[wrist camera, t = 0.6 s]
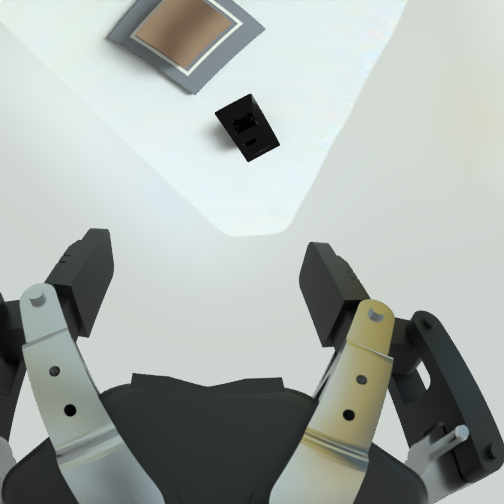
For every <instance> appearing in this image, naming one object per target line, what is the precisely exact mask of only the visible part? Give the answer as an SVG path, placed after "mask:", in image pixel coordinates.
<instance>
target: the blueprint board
mask: <svg viewBox="0 0 504 504" xmlns="http://www.w3.org/2000/svg"><path fill="white" fill-rule="evenodd" d="M166 1H167V0H139V1H138V2H137V3H136V4H135V5H134V6H133V7H132V8H131V10H130V11H129V12H128V13H127V14H126V15H125V17H124V18H123V19H122V20H121V21H120V23H119V24H118V25H117V26H116V27H115V29H114V30H113V31H112V33H111V34H110V35H109V38H110V39H112V40H114V41H115V42H117V43H119V44H120V45H122V46H124V47H125V48H127V49H128V50H130V51H132V52H133V53H135V54H136V55H138V56H139V57H141V58H142V59H144V60H146V61H147V62H149V63H150V64H152V65H153V66H155V67H156V68H157V69H159V70H160V71H162V72H163V73H165V74H166V75H168V76H169V77H170V78H172V79H173V80H175V81H176V82H178V83H179V84H180V85H182V86H183V87H184V88H186V89H187V90H189V91H190V92H191V93H193V94H194V95H196V94H197V93H198V92H199V91H200V90H201V89H202V88H203V87H204V85H205V84H206V83H207V82H208V81H209V80H210V79H211V78H212V77H213V76H214V75H215V74H216V73H217V72H218V71H219V70H220V69H222V68H223V67H224V66H225V65H226V64H227V63H228V62H229V61H230V60H231V59H232V58H233V57H234V56H235V55H236V54H238V53H239V52H240V51H241V50H242V49H243V48H244V47H245V46H247V45H248V44H249V43H250V42H251V41H252V40H254V39H255V38H256V37H257V36H258V35H259V34H261V33H262V32H263V31H264V30H266V29H265V28H264V27H263V26H262V25H261V24H260V23H259V22H258V21H256V20H255V19H254V18H253V17H252V16H251V15H249V14H248V13H247V12H246V11H245V10H243V9H242V8H241V7H240V6H239V5H237V4H236V3H235V2H234V1H232V0H203V1H204V2H206V3H207V4H208V5H210V6H211V7H212V8H214V9H215V10H216V11H218V12H219V13H220V14H222V15H223V16H224V17H225V18H227V19H228V20H229V21H230V22H232V24H231V25H230V26H228V27H227V28H226V29H225V30H224V31H223V32H222V33H221V34H219V35H218V36H217V37H216V38H215V39H214V40H213V41H212V42H211V43H210V44H209V45H208V46H207V47H206V48H205V49H204V50H203V51H202V52H201V53H200V54H199V55H198V56H197V57H196V58H195V59H194V60H193V61H192V62H191V63H190V64H189V65H188V66H187V67H186V68H183V67H182V66H180V65H179V64H178V63H176V62H175V61H173V60H172V59H171V58H169V57H168V56H166V55H165V54H163V53H162V52H160V51H159V50H157V49H156V48H154V47H153V46H151V45H150V44H148V43H147V42H145V41H144V40H142V39H141V38H139V37H137V36H136V35H135V34H136V33H137V32H138V31H139V29H140V28H141V27H142V26H143V25H144V24H145V23H146V21H147V20H148V19H149V18H150V17H151V16H152V15H153V14H154V13H155V12H156V11H157V10H158V9H159V8H160V7H161V6H162V5H163V4H164V3H165V2H166Z"/></svg>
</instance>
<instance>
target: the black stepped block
mask: <svg viewBox="0 0 504 504" xmlns="http://www.w3.org/2000/svg"><path fill="white" fill-rule="evenodd" d="M215 115H216V116H217V118H218V119H219V121H220V122H221V123H222V125H223V126H224V128H225V129H226V131H227V132H228V134H229V135H230V136H231V138H232V139H233V141H234V142H235V144H236V145H237V147H238V148H239V150H240V151H241V153H242V154H243V156H244V157H245V159H246V160H247V162H250V161H252V160H254V159H255V158H257V157H259V156H261V155H263V154H265V153H266V152H268V151H270V150H272V149H274V148H276V147H278V146H280V143H279V142H278V140H277V138H276V136H275V134H274V132H273V131H272V129H271V127H270V125H269V123H268V122H267V120H266V118H265V116H264V114H263V113H262V111H261V109H260V108H259V106H258V104H257V102H256V101H255V99H254V97H253V96H252V94H248V95H246V96H244V97H243V98H241V99H239V100H237V101H235V102H233V103H231V104H229V105H227V106H226V107H224V108H222V109H220V110H218V111H217V112H215Z"/></svg>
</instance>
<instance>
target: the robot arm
mask: <svg viewBox="0 0 504 504" xmlns="http://www.w3.org/2000/svg"><path fill="white" fill-rule="evenodd" d="M113 272H114V262H113V255H112V247H111V240H110V233H109V230H108V229H95V228H91V229H89V230H88V232H87V233H86V234H85V236H84V237H83V238H82V240H78V241H76V242H75V243H73V244H72V245H71V246H69V247H68V249H67V250H66V251H65V253H64V254H63V256H62V257H61V258H60V260H59V263H57V264H56V266H55V267H54V269H53V270H52V272H51V273H50V275H49V276H48V278H47V279H46V281H45V282H44V283H40V284H36V285H33V286H31V287H29V288H28V289H27V290H26V291H25V292H24V293H23V294H22V296H21V298H20V300H15V301H8V302H5V301H4V299H3V297H2V294H1V293H0V504H434V503H436V502H437V501H439V500H441V499H443V498H445V497H446V496H448V495H449V494H452V493H454V492H456V491H459V490H461V489H463V488H465V487H467V486H469V485H471V484H473V483H475V482H477V481H479V480H481V479H483V478H485V477H487V476H488V475H490V474H492V473H493V472H495V471H497V470H498V469H499V468H500V467H501V466H502V465H503V463H504V443H503V440H502V438H501V436H500V433H499V430H498V428H497V425H496V423H495V421H494V419H493V416H492V414H491V412H490V410H489V408H488V406H487V403H486V401H485V399H484V397H483V395H482V393H481V391H480V389H479V387H478V385H477V384H476V382H475V380H474V378H473V376H472V374H471V372H470V370H469V369H468V367H467V365H466V363H465V362H464V360H463V358H462V356H461V355H460V353H459V351H458V349H457V348H456V346H455V344H454V343H453V341H452V340H451V338H450V336H449V335H448V333H447V332H446V330H445V329H444V327H443V325H442V324H441V322H440V321H439V320H438V319H437V318H436V317H435V316H434V315H433V314H431V313H429V312H426V311H417V312H415V313H414V315H413V316H412V318H411V320H405V319H400V318H395V317H394V314H393V312H392V310H391V309H390V308H389V307H388V306H387V305H385V304H384V303H382V302H380V301H377V300H373V299H370V297H369V295H368V294H367V292H366V290H365V289H364V287H363V286H362V284H361V283H360V281H359V280H358V279H357V276H356V275H355V273H353V270H352V269H351V267H350V266H349V264H348V263H347V262H346V261H345V260H344V259H342V258H341V257H340V256H337V255H336V254H335V252H334V251H333V249H332V248H331V246H330V245H329V244H328V243H319V242H310V243H309V245H308V247H307V250H306V254H305V257H304V261H303V264H302V268H301V271H300V276H299V285H300V289H301V291H302V294H303V297H304V299H305V302H306V304H307V307H308V309H309V312H310V315H311V318H312V320H313V323H314V326H315V328H316V331H317V333H318V336H319V339H320V342H321V344H322V347H334V348H335V352H334V354H333V356H332V358H331V360H330V362H329V364H328V366H327V368H326V370H325V373H324V375H323V377H322V379H321V381H320V383H319V385H318V387H317V389H316V390H315V393H314V394H313V396H312V397H311V396H308V395H307V394H305V393H302V392H299V391H296V390H293V389H289V388H284V385H283V381H282V378H281V377H279V378H255V379H243V380H239V381H234V382H230V383H225V384H220V385H216V386H211V387H206V386H201V385H197V384H193V383H190V382H186V381H182V380H179V379H175V378H172V377H167V376H155V375H146V374H136V373H133V375H132V381H131V384H124V385H120V386H116V387H113V388H111V389H108V390H107V391H104V392H103V393H101V394H100V392H99V390H98V388H97V387H96V385H95V383H94V381H93V379H92V377H91V375H90V373H89V371H88V368H87V366H86V364H85V362H84V360H83V358H82V355H81V353H80V351H79V349H78V346H77V344H76V341H77V338H78V336H82V337H87V338H88V337H89V336H90V333H91V330H92V327H93V325H94V322H95V319H96V316H97V314H98V311H99V309H100V306H101V304H102V301H103V299H104V296H105V294H106V291H107V289H108V286H109V284H110V282H111V279H112V277H113ZM421 361H423V363H424V365H425V367H426V369H427V371H428V373H429V375H430V380H431V382H430V386H429V388H428V389H427V390H426V388H425V386H424V384H423V382H422V379H421V377H420V375H419V373H418V371H417V369H416V368H417V366H418V365H419V364H420V363H421ZM26 370H27V372H28V376H29V380H30V383H31V387H32V390H33V393H34V396H35V400H36V402H37V406H38V409H39V411H40V414H41V417H42V419H43V422H44V425H45V427H46V430H47V432H48V435H49V437H48V438H47V439H46V440H44V441H43V442H42V443H41V444H40V445H38V446H37V447H36V448H35V449H34V450H33V451H31V452H30V453H29V454H28V455H26V456H25V457H24V458H23V459H22V460H21V461H19V462H18V463H17V464H16V460H15V458H14V457H13V456H12V451H11V448H10V445H9V444H8V442H9V437H10V431H11V426H12V421H13V417H14V412H15V408H16V404H17V400H18V397H19V393H20V389H21V386H22V382H23V379H24V376H25V373H26ZM387 388H388V390H389V392H390V395H391V398H392V400H393V403H394V405H395V408H396V411H397V414H398V417H399V419H400V422H401V425H402V428H403V431H404V434H405V437H406V440H407V443H408V446H409V449H410V450H409V452H408V460H406V461H405V463H404V464H403V463H402V462H400V461H399V460H397V459H396V458H394V457H393V456H391V455H390V454H388V453H387V452H386V451H384V450H383V449H381V448H380V447H378V446H377V445H375V444H374V443H373V442H372V440H373V437H374V434H375V431H376V427H377V424H378V421H379V418H380V414H381V410H382V407H383V404H384V400H385V396H386V392H387Z"/></svg>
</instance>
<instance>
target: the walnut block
mask: <svg viewBox="0 0 504 504" xmlns="http://www.w3.org/2000/svg"><path fill="white" fill-rule="evenodd" d="M231 24H232V22H230V21H229V20H228V19H227V18H225V17H224V16H223V15H222V14H220V13H219V12H218V11H216V10H215V9H214V8H212V7H211V6H210V5H208V4H207V3H206V2H204V1H203V0H167V1H166V2H165V3H164V4H163V5H162V6H161V7H160V8H159V9H158V10H157V11H156V12H155V13H154V14H153V15H152V16H151V17H150V18H149V19H148V20H147V21H146V23H145V24H144V25H143V26H142V27H141V28H140V29H139V31H138V32H137V33H136V34H135V35H136V36H137V37H139V38H141V39H142V40H144V41H145V42H147V43H148V44H150V45H151V46H153V47H154V48H156V49H157V50H159V51H160V52H162V53H163V54H165V55H166V56H168V57H169V58H171V59H172V60H173V61H175V62H176V63H178V64H179V65H180V66H182V67H183V68H186V67H187V66H188V65H189V64H190V63H191V62H192V61H193V60H194V59H195V58H196V57H197V56H198V55H199V54H200V53H201V52H202V51H203V50H204V49H205V48H206V47H207V46H208V45H209V44H210V43H211V42H212V41H213V40H214V39H215V38H216V37H217V36H218V35H219V34H221V33H222V32H223V31H224V30H225V29H226V28H227V27H228V26H230V25H231Z"/></svg>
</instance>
